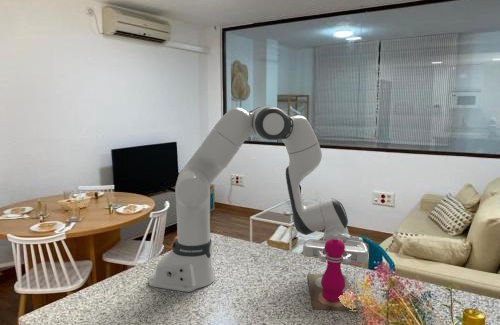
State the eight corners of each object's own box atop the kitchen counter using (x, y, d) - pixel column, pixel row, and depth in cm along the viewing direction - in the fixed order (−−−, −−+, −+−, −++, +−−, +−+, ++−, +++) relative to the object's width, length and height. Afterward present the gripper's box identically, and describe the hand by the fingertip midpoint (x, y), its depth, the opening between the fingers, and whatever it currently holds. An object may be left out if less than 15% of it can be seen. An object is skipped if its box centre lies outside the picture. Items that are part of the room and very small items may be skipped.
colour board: (312, 309, 111) (312, 305, 110) (307, 276, 132) (307, 272, 132) (357, 312, 110) (357, 308, 109) (344, 278, 131) (344, 274, 131)
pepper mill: (345, 303, 111) (348, 240, 107) (320, 301, 112) (323, 238, 109) (343, 291, 118) (347, 231, 114) (320, 289, 119) (323, 229, 116)
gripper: (305, 232, 127) (300, 247, 114) (367, 238, 122) (369, 254, 109) (304, 249, 128) (299, 266, 115) (366, 256, 123) (368, 274, 110)
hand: (334, 260), depth 112 cm, fingers closed on pepper mill, 5 cm apart
